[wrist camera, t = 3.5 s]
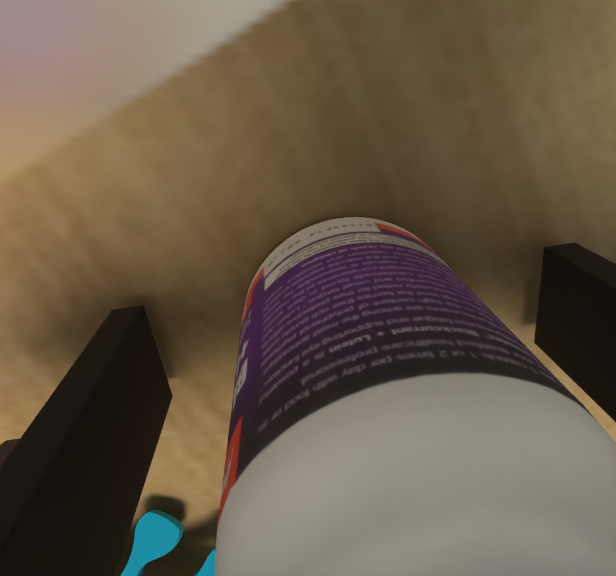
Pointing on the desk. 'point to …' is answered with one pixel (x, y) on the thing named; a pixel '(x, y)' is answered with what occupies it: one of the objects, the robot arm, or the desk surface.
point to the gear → (159, 543)
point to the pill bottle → (401, 426)
